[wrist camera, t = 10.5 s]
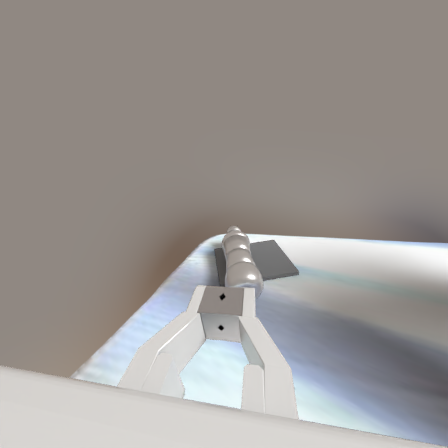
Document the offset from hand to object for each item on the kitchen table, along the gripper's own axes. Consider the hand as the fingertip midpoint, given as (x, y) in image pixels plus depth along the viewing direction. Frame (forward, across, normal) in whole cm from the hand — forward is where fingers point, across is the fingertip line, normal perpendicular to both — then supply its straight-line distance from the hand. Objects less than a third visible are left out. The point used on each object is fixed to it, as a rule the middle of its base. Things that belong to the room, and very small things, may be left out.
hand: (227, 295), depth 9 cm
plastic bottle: (+14, -1, -15) cm, 21 cm away
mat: (+27, 0, -18) cm, 33 cm away
